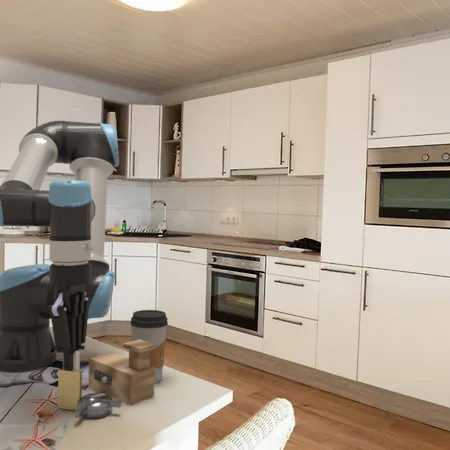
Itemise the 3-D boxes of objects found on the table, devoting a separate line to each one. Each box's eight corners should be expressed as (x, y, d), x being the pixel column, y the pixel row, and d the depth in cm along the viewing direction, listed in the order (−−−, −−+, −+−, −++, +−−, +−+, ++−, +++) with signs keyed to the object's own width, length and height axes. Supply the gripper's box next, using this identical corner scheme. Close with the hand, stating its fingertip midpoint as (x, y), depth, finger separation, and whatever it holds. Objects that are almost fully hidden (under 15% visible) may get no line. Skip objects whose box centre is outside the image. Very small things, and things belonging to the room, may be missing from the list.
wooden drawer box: (84, 387, 101) (85, 337, 100) (112, 378, 106) (113, 330, 106) (126, 407, 92) (127, 352, 92) (154, 396, 98) (156, 344, 97)
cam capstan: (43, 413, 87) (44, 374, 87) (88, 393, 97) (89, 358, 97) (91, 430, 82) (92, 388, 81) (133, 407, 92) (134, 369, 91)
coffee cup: (158, 388, 102) (161, 319, 101) (122, 384, 103) (124, 316, 103) (171, 375, 110) (173, 311, 109) (137, 371, 112) (139, 308, 111)
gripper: (73, 267, 83) (74, 400, 84) (103, 258, 95) (103, 374, 97) (33, 266, 84) (34, 397, 85) (68, 257, 96) (69, 371, 98)
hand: (71, 384), depth 91 cm, fingers closed
